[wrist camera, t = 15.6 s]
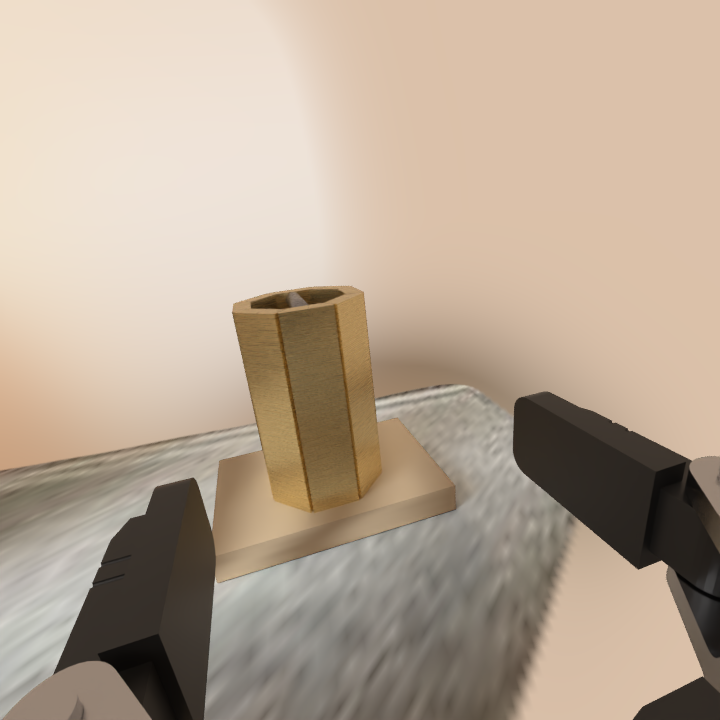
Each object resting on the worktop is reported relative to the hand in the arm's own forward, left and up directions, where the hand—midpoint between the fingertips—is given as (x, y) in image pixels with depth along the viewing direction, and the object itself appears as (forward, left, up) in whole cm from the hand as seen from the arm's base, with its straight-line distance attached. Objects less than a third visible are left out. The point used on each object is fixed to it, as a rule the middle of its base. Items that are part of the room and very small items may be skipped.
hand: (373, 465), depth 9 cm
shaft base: (0, +11, -9) cm, 14 cm away
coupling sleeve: (0, +11, -7) cm, 13 cm away
